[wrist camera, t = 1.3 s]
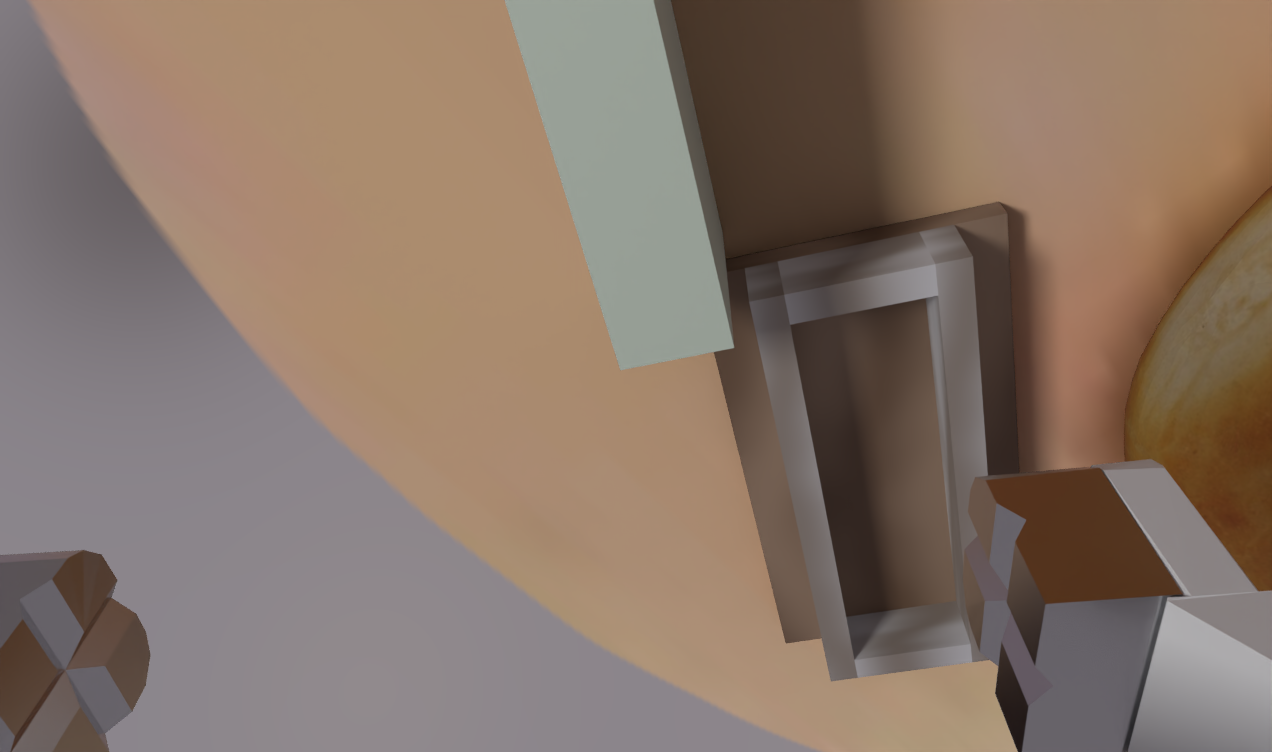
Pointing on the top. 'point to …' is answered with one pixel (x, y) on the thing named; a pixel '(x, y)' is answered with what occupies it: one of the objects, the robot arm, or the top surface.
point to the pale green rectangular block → (631, 170)
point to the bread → (1216, 392)
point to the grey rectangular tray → (874, 428)
